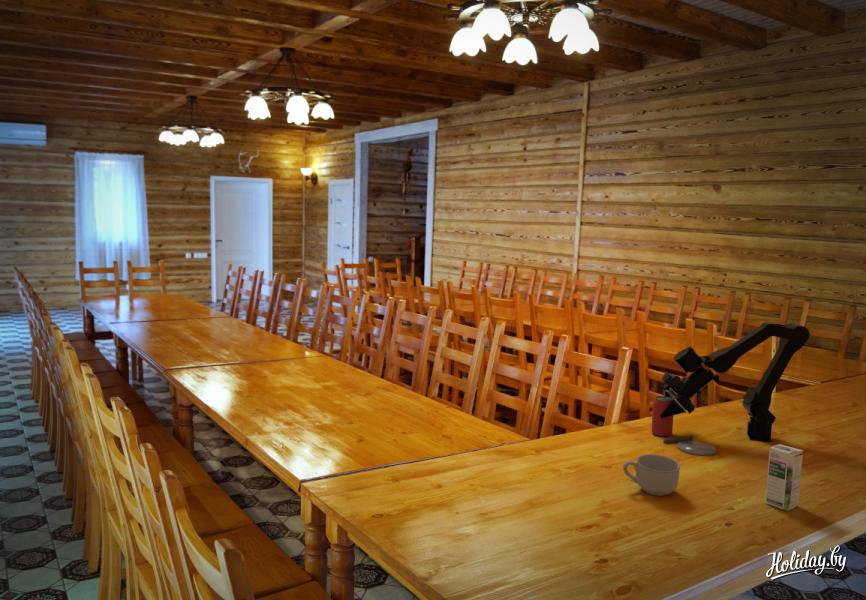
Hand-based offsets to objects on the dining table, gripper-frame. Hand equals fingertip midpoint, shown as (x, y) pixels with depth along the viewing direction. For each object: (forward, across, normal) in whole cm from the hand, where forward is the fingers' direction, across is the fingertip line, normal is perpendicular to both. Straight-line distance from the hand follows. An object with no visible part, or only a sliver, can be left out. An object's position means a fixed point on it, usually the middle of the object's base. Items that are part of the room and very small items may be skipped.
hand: (658, 414), depth 218 cm
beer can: (+4, 0, +6) cm, 7 cm away
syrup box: (-8, +53, +18) cm, 56 cm away
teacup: (+14, +48, -4) cm, 50 cm away
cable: (+1, +7, +8) cm, 11 cm away
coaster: (-1, +14, +11) cm, 18 cm away
